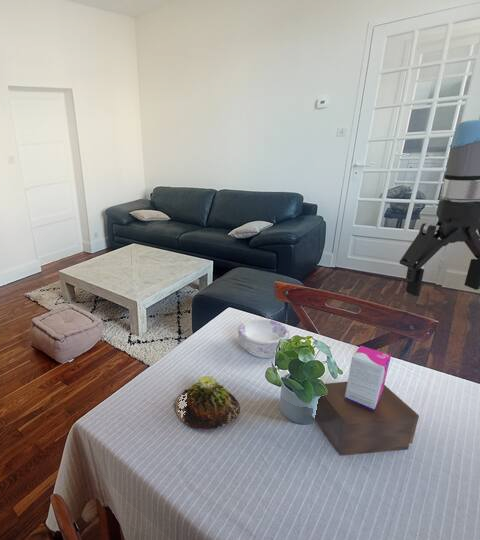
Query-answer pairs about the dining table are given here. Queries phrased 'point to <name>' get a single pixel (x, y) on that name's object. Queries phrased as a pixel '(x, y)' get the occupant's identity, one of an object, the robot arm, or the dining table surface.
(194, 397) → the cactus
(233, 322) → the dining table surface
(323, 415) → the cabinet
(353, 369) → the supplement box
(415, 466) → the dining table surface
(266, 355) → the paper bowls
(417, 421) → the drawer
